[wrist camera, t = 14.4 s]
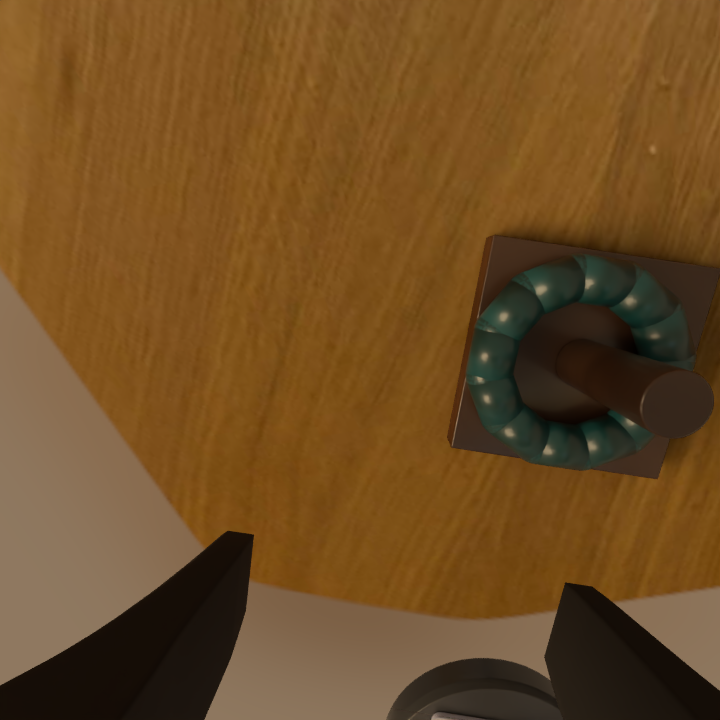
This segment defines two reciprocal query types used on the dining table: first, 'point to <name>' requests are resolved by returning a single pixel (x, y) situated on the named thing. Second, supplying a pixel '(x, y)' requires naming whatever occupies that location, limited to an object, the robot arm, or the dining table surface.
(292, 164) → the dining table surface
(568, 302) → the ring
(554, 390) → the post
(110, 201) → the dining table surface
